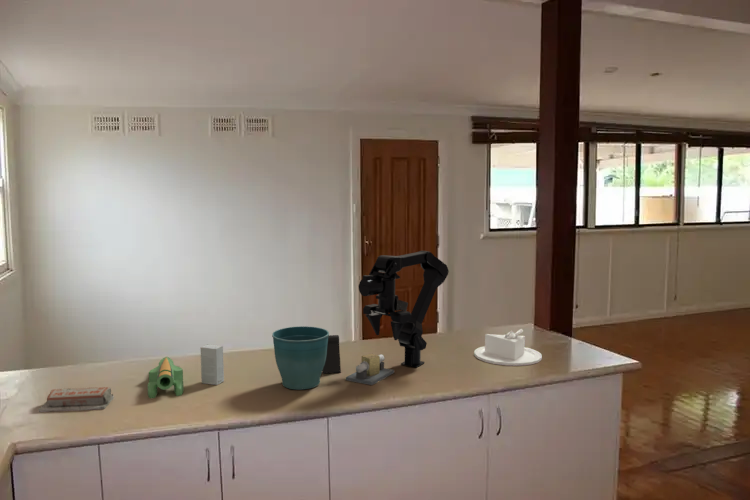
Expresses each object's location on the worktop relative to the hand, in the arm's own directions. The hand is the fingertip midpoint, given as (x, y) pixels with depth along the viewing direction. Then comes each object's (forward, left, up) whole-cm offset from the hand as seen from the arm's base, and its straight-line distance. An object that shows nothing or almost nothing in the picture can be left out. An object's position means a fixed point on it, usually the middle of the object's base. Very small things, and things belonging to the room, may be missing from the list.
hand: (386, 337), depth 211 cm
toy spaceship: (+46, -57, -12) cm, 74 cm away
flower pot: (+26, -17, -12) cm, 33 cm away
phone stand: (+8, -18, -12) cm, 23 cm away
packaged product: (+74, -63, -13) cm, 97 cm away
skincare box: (+39, -43, -12) cm, 59 cm away
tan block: (+7, -2, -11) cm, 13 cm away
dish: (-40, +30, -13) cm, 52 cm away
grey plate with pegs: (+7, -2, -12) cm, 14 cm away
